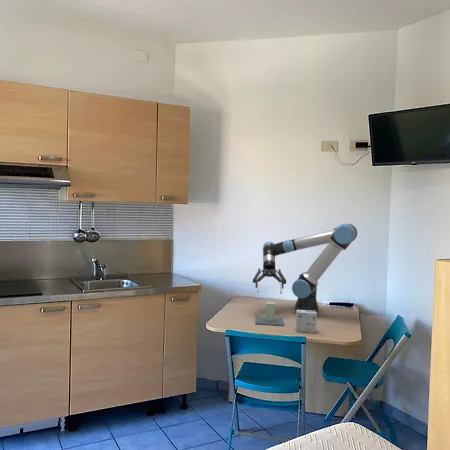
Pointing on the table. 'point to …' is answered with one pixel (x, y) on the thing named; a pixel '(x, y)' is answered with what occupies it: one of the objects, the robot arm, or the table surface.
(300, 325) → the light bulb box
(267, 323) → the mat
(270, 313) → the sage block
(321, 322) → the table surface
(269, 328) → the table surface
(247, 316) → the table surface
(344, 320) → the table surface
